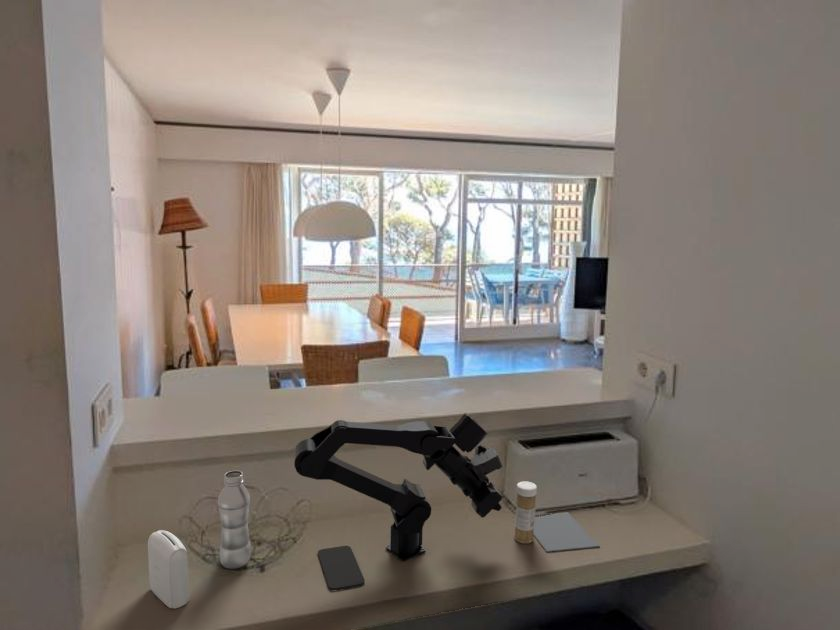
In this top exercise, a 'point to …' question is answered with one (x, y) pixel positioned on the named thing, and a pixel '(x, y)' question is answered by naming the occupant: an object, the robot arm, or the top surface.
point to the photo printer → (168, 569)
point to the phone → (340, 568)
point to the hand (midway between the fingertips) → (499, 508)
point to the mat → (561, 533)
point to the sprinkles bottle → (525, 512)
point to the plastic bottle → (234, 522)
